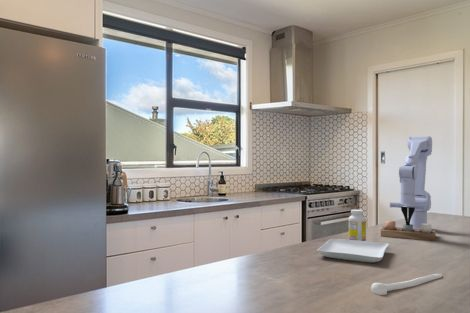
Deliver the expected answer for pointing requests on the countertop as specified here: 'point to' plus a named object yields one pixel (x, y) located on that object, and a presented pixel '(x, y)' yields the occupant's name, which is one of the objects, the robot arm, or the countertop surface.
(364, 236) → the supplement bottle
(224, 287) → the countertop surface
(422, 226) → the white rounded cylinder
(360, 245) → the salad plate
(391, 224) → the peach rounded cylinder
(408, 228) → the grey rounded piece
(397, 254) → the countertop surface
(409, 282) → the white long rod
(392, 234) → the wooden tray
